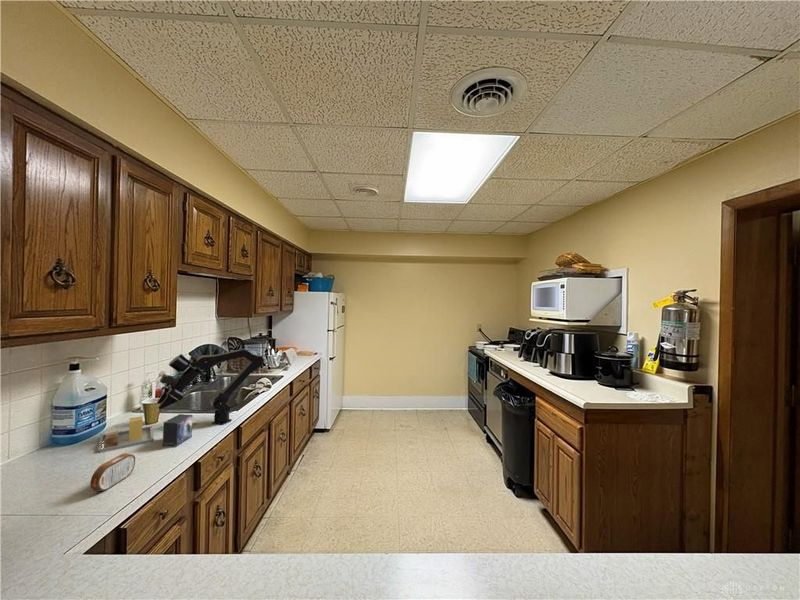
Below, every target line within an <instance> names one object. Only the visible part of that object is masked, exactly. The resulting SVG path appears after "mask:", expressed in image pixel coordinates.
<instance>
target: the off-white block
mask: <svg viewBox="0 0 800 600" xmlns="http://www.w3.org/2000/svg"><path fill="white" fill-rule="evenodd" d="M118 432H119V428H113V429H107V430H106V432H105V434H106V436H107V435H112V434H118Z"/></svg>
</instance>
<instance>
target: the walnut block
mask: <svg viewBox="0 0 800 600" xmlns="http://www.w3.org/2000/svg"><path fill="white" fill-rule="evenodd" d="M117 445H118V434H112V435H107V436H106V439H105V448H108V447H113V446H117Z"/></svg>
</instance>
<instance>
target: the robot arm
mask: <svg viewBox="0 0 800 600" xmlns="http://www.w3.org/2000/svg"><path fill="white" fill-rule="evenodd" d="M239 358H244V359H246V360H247V361H246V364H245V366H244V367H243V368H242V369H241V371H240V372H239V373H238V374H237V375H236V376H235V377H234V378H233V379H232V380H231V381H230V382H229V383H228V384H227V385H226V387H224V388H223V389H222V390H219V389H217V390H216V391H215V393H214V394H212V395H211V398H210V404H211V406H212V407H213V408H214V409H215V411H214V415H213V417H214V418H213V420H214V421H212V422H211V424H215V425H221V426H222V425H225V424H228V423H229V422H231V421H232V419H231V418H230V411H231V410H230V409H231V406H230V405H229V404H228V402H229V400H230V398H231V396H232V394H233V393H234V392H235V391H237V389H238V388H239V387H240V385H241V384H243V382H244V381H245V380H246V379H247V378H248V377H249V376H250V375H251V374H252V373H253V372H254V371H255V372H256V371H257V370H258V369H259V368H261V367H262V366H263V365H264V361H265V360H264V358H263V356H261V355H259V354H254V353H252V352H251V351H248V350H247V349H246V348H239V349H236V350H231V351H227V352H223V353H218V354H205V355H204V354H202V355H199V356H197V357H196V358H193V359H188V358H186V357H185V356H184V354H181V353H180V354H178V355H177V356H175V357H174V358H172V360H171V361H170V362H169V363H168V366H169V367H170V368H172V369H174V371H176V372H178V373H181V375H177V376H173V375H170V374H169V375H168V374H162V376H161V378H160V379H159V382H160V383H161V384H164V387H163V388H164V389H163V390H164V391H163V392H162V394H161V395H160V397H159V398H158V400H157V401H156V403H157V404H160V405H159V406H158V409H159V410H162V409H164V408H166V407H169V406H170V405H172V404H176V403H177V402H180V401H182V400H183V399H184V398H185V397H184V396H185V395H184V391H185V389H186V388H187V387H190V386H191V385H192V382H194V381H195V379H196V378H197V377H198V376H201V377H204V376H205V374H204V373H205V370H206V369H208V368H212V367H213V366H215V365H217V364H219V363H224V362H229V361H232V360H235V359H239Z"/></svg>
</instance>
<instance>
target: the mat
mask: <svg viewBox="0 0 800 600" xmlns="http://www.w3.org/2000/svg"><path fill="white" fill-rule="evenodd" d="M194 424H195V425H197V422H192V426H195V425H194ZM155 430H158V431H161V432H163V425H162V426H159V427H157V428H156V427H155Z"/></svg>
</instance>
